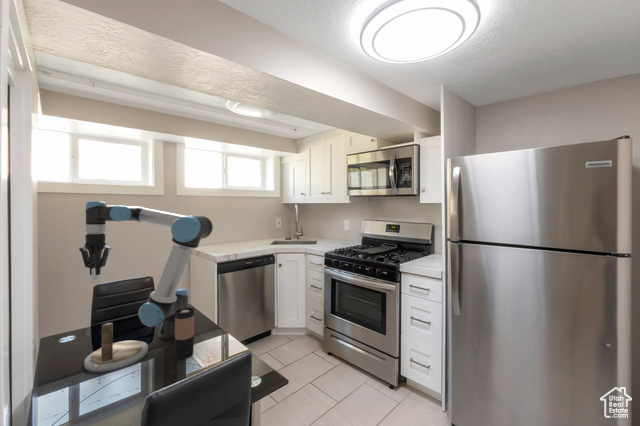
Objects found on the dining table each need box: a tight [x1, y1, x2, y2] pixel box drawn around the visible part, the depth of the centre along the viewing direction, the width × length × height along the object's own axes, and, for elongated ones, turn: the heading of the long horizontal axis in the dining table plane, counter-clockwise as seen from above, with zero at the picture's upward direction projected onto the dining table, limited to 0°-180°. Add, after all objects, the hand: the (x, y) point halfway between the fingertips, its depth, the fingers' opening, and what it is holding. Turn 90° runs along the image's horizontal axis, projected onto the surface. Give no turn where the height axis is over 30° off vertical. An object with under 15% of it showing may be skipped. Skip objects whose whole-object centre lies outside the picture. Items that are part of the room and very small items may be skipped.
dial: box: [91, 322, 143, 364], centre depth 118 cm, size 18×18×15 cm
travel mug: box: [174, 307, 195, 361], centre depth 120 cm, size 8×8×20 cm
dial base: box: [84, 340, 149, 373], centre depth 118 cm, size 22×22×2 cm
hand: (95, 281), depth 132 cm, fingers closed
